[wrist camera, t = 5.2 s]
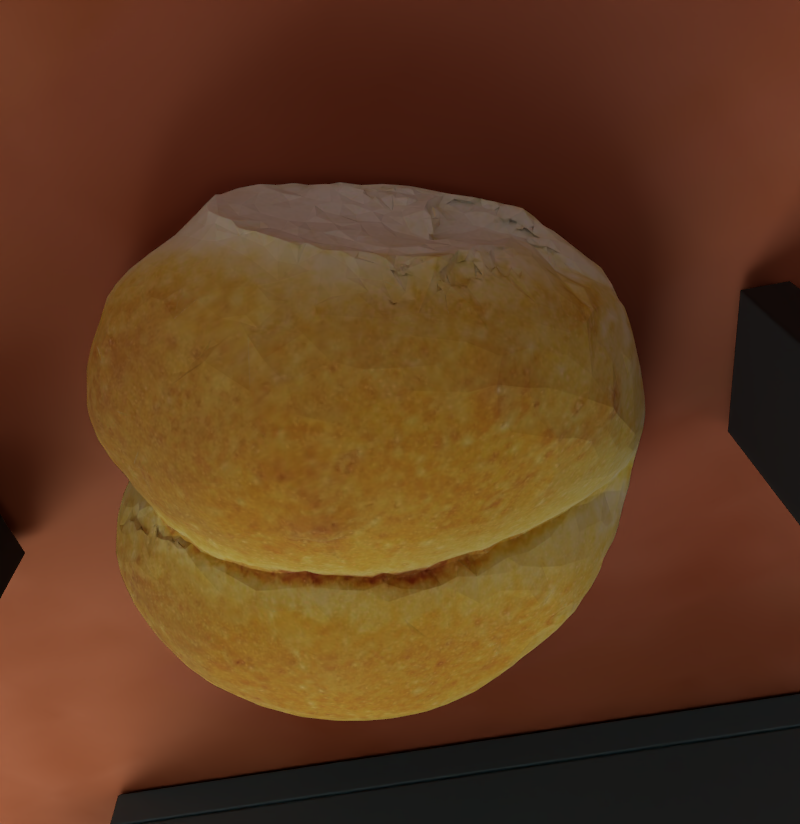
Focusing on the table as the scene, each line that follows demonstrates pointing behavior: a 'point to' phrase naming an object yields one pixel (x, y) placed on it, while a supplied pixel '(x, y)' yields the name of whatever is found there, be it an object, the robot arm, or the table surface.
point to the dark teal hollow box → (530, 778)
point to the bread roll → (363, 441)
